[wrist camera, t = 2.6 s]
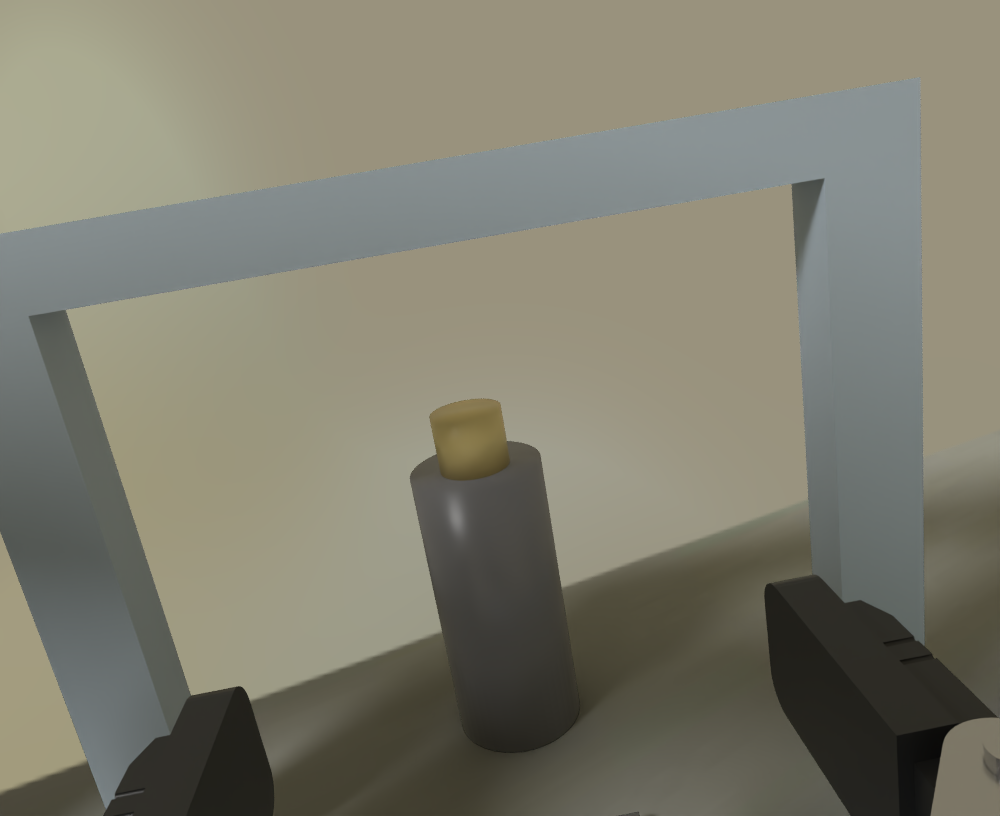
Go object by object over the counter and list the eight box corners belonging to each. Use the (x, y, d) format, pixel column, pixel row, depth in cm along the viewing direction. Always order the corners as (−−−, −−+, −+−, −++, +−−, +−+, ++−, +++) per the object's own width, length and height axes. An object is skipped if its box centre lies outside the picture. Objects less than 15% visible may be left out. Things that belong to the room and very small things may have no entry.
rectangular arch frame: (140, 899, 25) (-107, 251, 19) (160, 848, 27) (-58, 243, 21) (925, 745, 26) (920, 77, 20) (891, 705, 28) (877, 84, 22)
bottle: (463, 762, 29) (395, 445, 25) (459, 684, 33) (400, 403, 29) (589, 738, 29) (539, 419, 25) (569, 663, 33) (523, 381, 30)
